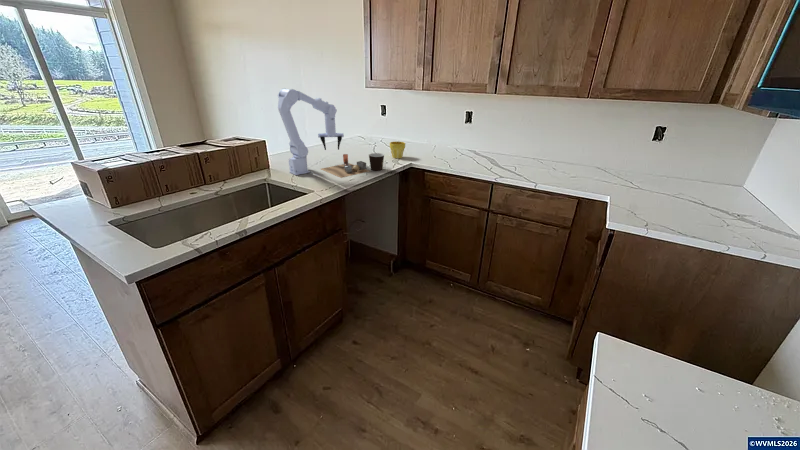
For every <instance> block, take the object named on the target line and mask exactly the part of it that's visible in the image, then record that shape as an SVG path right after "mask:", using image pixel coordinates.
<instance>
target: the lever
mask: <svg viewBox="0 0 800 450" xmlns="http://www.w3.org/2000/svg"><path fill="white" fill-rule="evenodd" d="M342 158H343V164H344V168H345V171H346V173H352V166H351V165H349V155H348V154H347V153H343V154H342Z"/></svg>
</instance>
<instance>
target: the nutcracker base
mask: <svg viewBox="0 0 800 450" xmlns="http://www.w3.org/2000/svg"><path fill="white" fill-rule="evenodd" d="M348 163H349V162H348ZM349 165H351V166H352V173H346V171H345V168H344V163H342V164H337V165H332V166H327V167H322V168H320V170H322V171H324V172H326V173H329V174H331V175H333V176H336V177H339V178H341V179H342V178H343V179H344V178H346V177H351V176H355V175H360V174H365V173H369V172H371V170H369V169H367V163H366V162H365V161H362V160H359V161H356V165H358V166H359V168H360V169H359V170H357V171H354V170H353V166H354V165H355V164H353V163H349Z"/></svg>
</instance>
